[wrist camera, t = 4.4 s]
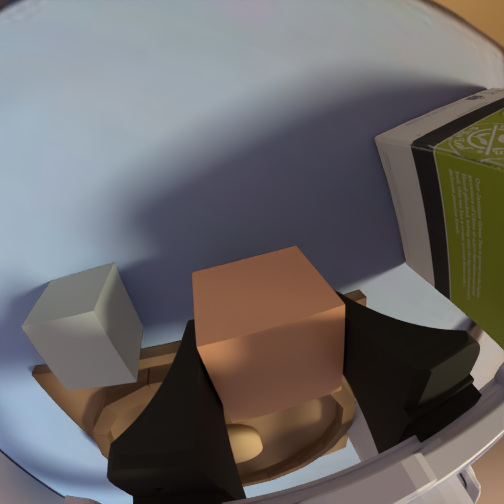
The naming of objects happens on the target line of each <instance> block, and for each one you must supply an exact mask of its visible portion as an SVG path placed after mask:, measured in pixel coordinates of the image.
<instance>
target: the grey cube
mask: <svg viewBox="0 0 504 504" xmlns="http://www.w3.org/2000/svg"><path fill="white" fill-rule="evenodd" d="M21 328H22V329H23V331H24V333H25V334H26V336H27V337H28V339H29V340H30V342H31V343H32V345H33V346H34V348H35V349H36V350H37V352H38V353H39V355H40V356H41V357H42V359H43V360H44V361H45V363H46V364H47V365H48V367H49V368H50V369H51V371H52V372H53V373H54V375H55V376H56V377H57V378H58V380H59V381H60V382H61V383H62V384H63V386H64V387H65V388H66V389H67V390H75V389H86V388H95V387H104V386H112V385H119V384H127V383H133V382H137V375H138V366H139V357H140V349H141V341H142V334H143V325H142V323H141V321H140V319H139V317H138V315H137V313H136V310H135V308H134V306H133V304H132V302H131V300H130V298H129V295H128V293H127V291H126V289H125V286H124V284H123V282H122V279H121V277H120V275H119V272H118V270H117V267H116V265H115V263H110V264H107V265H103V266H100V267H96V268H93V269H89V270H86V271H82V272H79V273H75V274H72V275H68V276H65V277H62V278H58V279H55V280H51V281H50V283H49V284H48V286H47V287H46V289H45V290H44V292H43V293H42V295H41V296H40V298H39V299H38V301H37V302H36V304H35V305H34V307H33V308H32V310H31V312H30V313H29V315H28V316H27V318H26V320H25V321H24V323H23V325H22V326H21Z"/></svg>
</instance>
